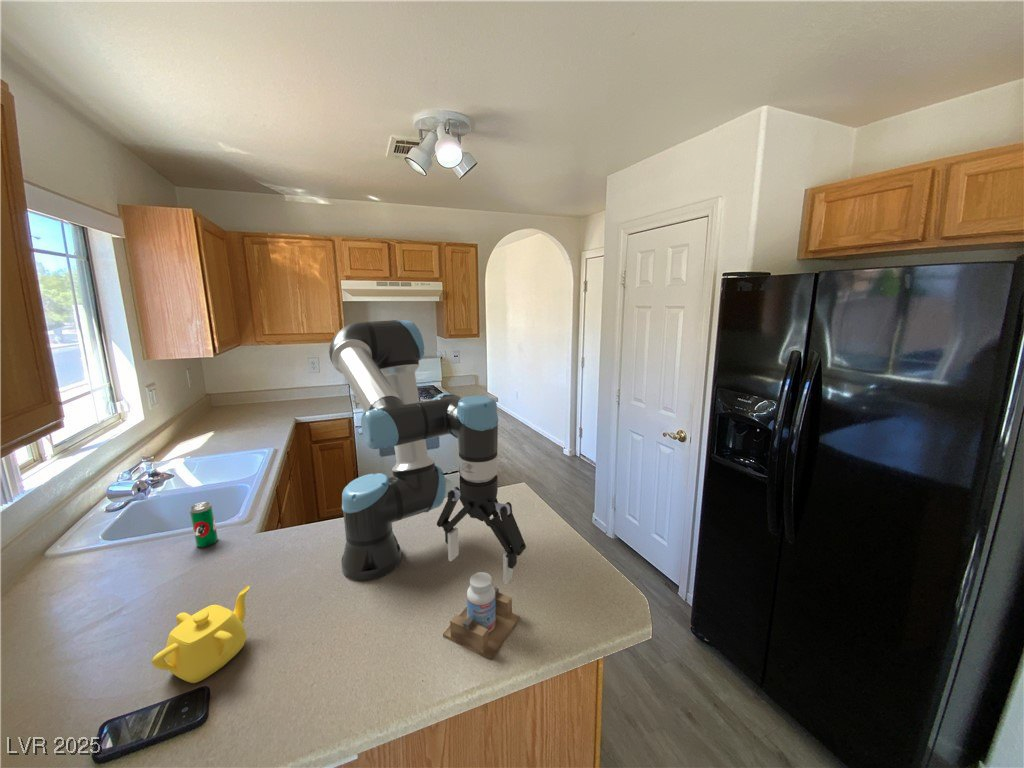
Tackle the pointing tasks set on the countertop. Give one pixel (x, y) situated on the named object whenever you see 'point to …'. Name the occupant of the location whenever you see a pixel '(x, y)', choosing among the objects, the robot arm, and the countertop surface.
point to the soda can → (203, 524)
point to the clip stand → (478, 636)
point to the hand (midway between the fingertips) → (479, 568)
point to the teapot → (204, 641)
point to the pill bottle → (481, 600)
